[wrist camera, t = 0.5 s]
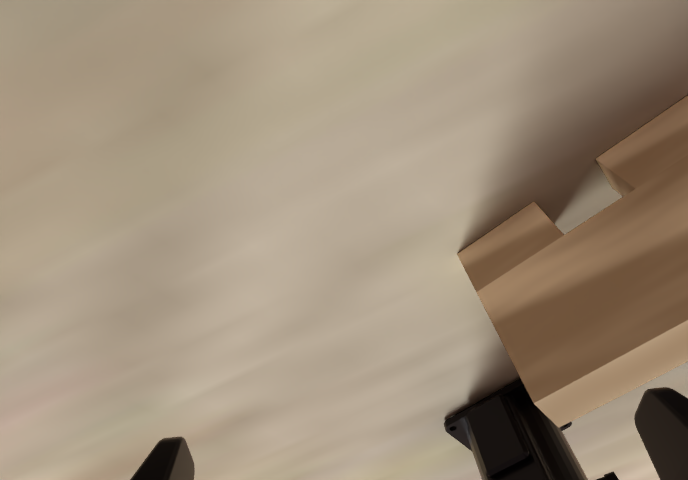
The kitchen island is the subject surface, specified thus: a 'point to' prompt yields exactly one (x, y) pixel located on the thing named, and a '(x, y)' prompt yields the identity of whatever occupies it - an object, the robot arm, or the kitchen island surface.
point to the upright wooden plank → (596, 280)
